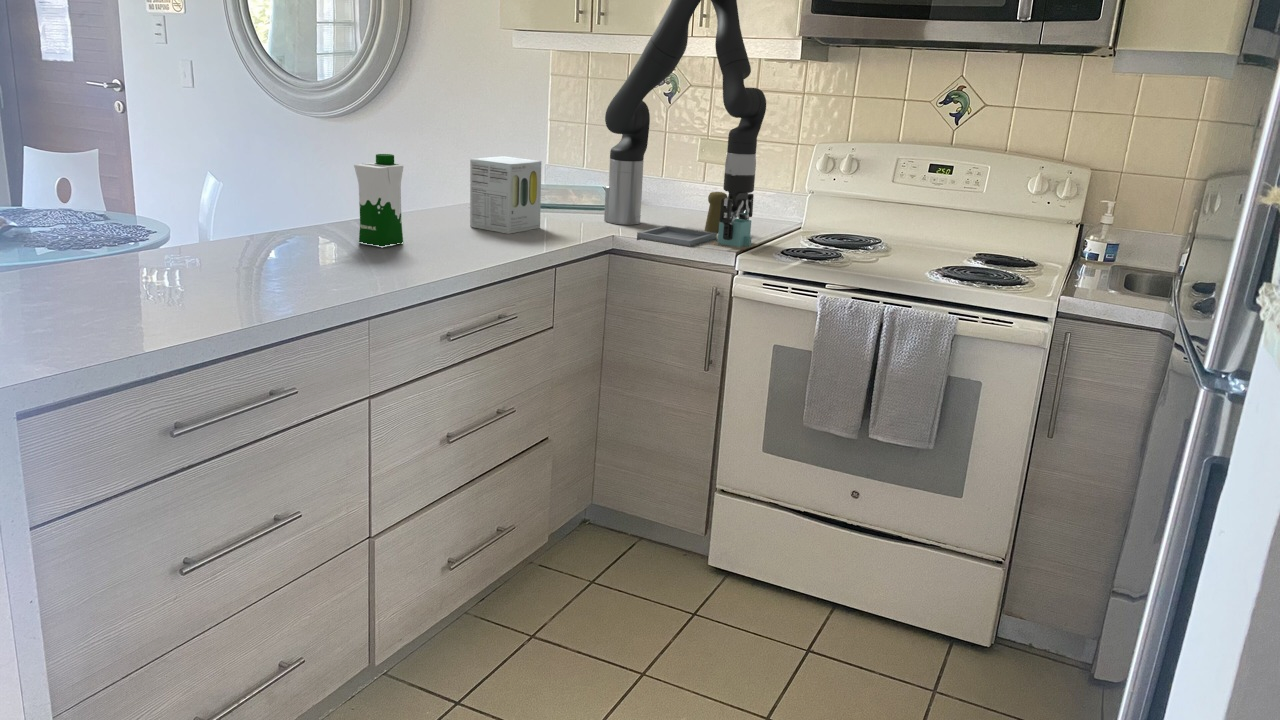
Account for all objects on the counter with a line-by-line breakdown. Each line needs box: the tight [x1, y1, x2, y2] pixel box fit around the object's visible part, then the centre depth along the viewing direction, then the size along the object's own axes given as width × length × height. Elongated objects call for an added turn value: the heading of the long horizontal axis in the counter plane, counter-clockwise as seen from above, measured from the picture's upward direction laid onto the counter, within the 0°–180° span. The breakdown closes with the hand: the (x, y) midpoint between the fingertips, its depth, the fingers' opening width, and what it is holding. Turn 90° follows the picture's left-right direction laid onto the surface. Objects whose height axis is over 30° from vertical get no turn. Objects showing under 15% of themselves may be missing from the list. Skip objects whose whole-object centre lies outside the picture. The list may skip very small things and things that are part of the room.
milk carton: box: [353, 153, 404, 246], centre depth 212 cm, size 9×9×20 cm
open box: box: [717, 217, 753, 247], centre depth 234 cm, size 8×6×6 cm
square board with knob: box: [707, 240, 760, 251], centre depth 235 cm, size 10×10×6 cm
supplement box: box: [469, 155, 542, 235], centre depth 241 cm, size 13×13×18 cm
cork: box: [704, 191, 728, 234], centre depth 251 cm, size 6×6×11 cm
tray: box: [636, 225, 718, 248], centre depth 239 cm, size 15×15×2 cm
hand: (734, 237), depth 235 cm, fingers open, 8 cm apart
